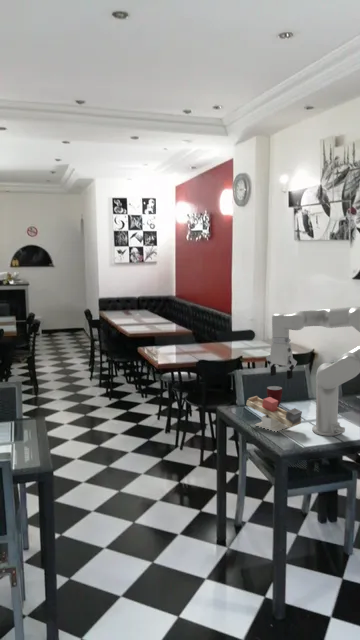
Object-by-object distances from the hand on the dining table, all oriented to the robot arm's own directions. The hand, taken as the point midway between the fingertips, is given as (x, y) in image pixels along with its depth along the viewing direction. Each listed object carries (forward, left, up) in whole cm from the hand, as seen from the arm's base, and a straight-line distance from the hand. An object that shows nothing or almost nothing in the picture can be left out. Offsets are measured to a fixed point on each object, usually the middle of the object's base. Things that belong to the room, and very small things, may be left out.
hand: (281, 376), depth 237 cm
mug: (+22, -25, -25) cm, 41 cm away
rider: (+6, +1, -17) cm, 18 cm away
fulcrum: (+4, +1, -24) cm, 25 cm away
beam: (+4, +1, -18) cm, 19 cm away
